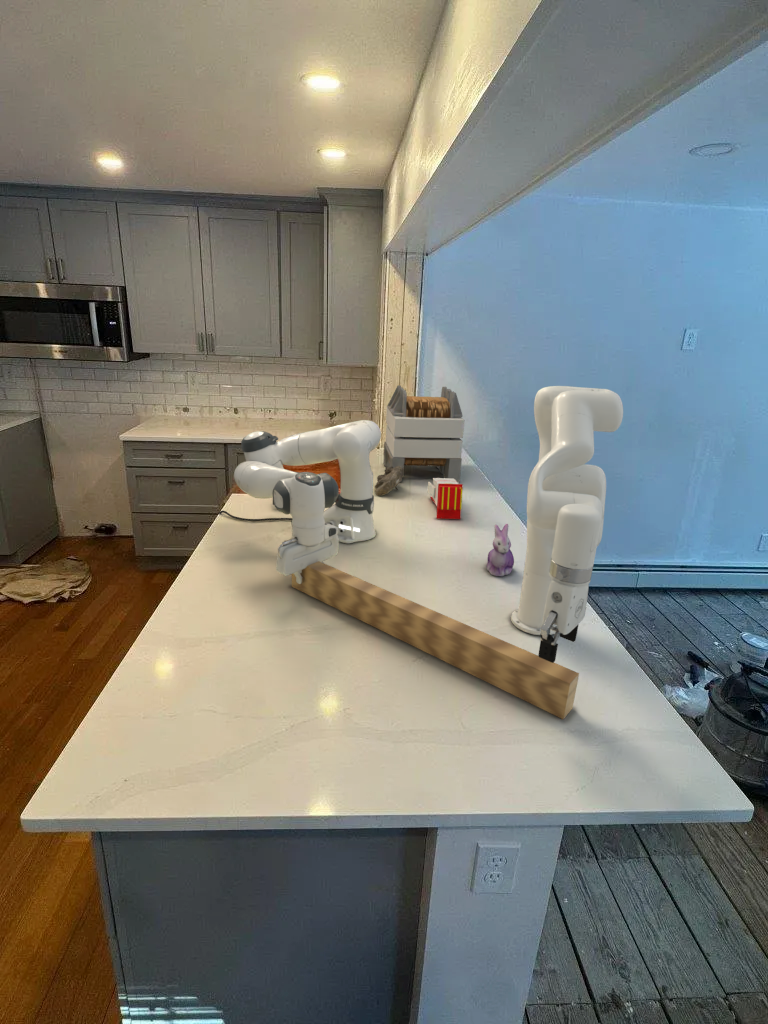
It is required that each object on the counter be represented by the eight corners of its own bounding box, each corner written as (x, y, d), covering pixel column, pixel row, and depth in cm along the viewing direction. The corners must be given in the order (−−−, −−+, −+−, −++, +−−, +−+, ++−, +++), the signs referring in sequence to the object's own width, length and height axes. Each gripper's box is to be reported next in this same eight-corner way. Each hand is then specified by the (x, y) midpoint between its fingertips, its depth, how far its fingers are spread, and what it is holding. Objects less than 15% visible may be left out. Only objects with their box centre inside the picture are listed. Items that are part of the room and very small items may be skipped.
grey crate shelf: (382, 463, 289) (386, 382, 275) (445, 464, 293) (451, 384, 279) (390, 482, 257) (394, 392, 243) (460, 483, 261) (468, 394, 247)
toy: (455, 474, 240) (467, 485, 211) (453, 505, 243) (464, 520, 214) (426, 473, 240) (434, 484, 211) (425, 504, 243) (432, 519, 213)
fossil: (373, 472, 257) (399, 454, 252) (386, 488, 260) (412, 470, 255) (367, 491, 238) (396, 472, 233) (381, 508, 240) (410, 490, 235)
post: (291, 586, 159) (291, 559, 156) (303, 581, 162) (303, 554, 160) (563, 719, 112) (570, 683, 109) (572, 708, 115) (579, 673, 112)
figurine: (497, 580, 168) (503, 533, 163) (477, 566, 177) (482, 521, 172) (522, 574, 173) (529, 528, 167) (501, 561, 181) (506, 517, 176)
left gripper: (286, 547, 143) (287, 595, 148) (342, 526, 158) (341, 571, 163) (270, 540, 147) (271, 587, 152) (326, 520, 162) (326, 564, 166)
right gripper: (571, 592, 97) (556, 676, 103) (607, 562, 110) (592, 638, 116) (531, 578, 102) (519, 659, 107) (569, 551, 114) (557, 625, 120)
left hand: (308, 579), depth 157 cm, fingers closed on post, 4 cm apart
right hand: (557, 648), depth 111 cm, fingers open, 9 cm apart
